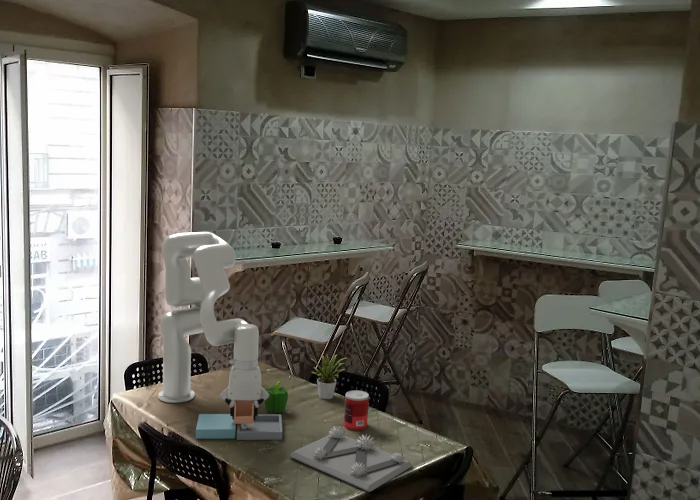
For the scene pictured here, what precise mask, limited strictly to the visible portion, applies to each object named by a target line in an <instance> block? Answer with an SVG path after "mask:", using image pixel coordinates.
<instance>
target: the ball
mask: <svg viewBox="0 0 700 500" xmlns="http://www.w3.org/2000/svg"><path fill="white" fill-rule="evenodd" d="M253 426H254V422H253V424H244V427H245V428H246V429H251V428H252V427H253Z"/></svg>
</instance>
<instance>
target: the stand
mask: <svg viewBox="0 0 700 500" xmlns="http://www.w3.org/2000/svg"><path fill="white" fill-rule="evenodd" d="M195 427H196V428H195V439H197V440H198V439H200V440H201V439H202V440H203V439H206V440H207V439H211V440H212V439H216V440H217V439H236V436H237V424H234V420H232V416H230V413H199V414H198V418H197V423H196V426H195Z"/></svg>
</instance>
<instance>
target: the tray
mask: <svg viewBox="0 0 700 500" xmlns="http://www.w3.org/2000/svg"><path fill="white" fill-rule="evenodd" d="M253 422H254V426H253V427H252V428H251V429H246V428H245V427H244V424H237V425H236V440H237V441H238V440H239V441H241V440H244V441H247V440H249V441H250V440H251V441H252V440H256V441H257V440H258V441H260V440H263V441H264V440H265V441H266V440H267V441H268V440H271V441H272V440H283V423H282V422H283V421H282V414H281V413H276V414H258V416H256V418H255V420H254V419H253Z"/></svg>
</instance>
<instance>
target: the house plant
mask: <svg viewBox="0 0 700 500" xmlns="http://www.w3.org/2000/svg"><path fill="white" fill-rule="evenodd" d="M325 354H326V355H325ZM325 354H322V353H321V354H320V355H321V363H322V364H321V365H322V366H320V364H318V362H317V361H316V360H315V359H313V358H310V357H309V359H310V360H312V361H313V362H314V363H315V364H316V365H317V366H318V368H319V369H317V368H316V367H315V366H314V367H313V368H314V369H315V371H311V373H312V374H314V375H316V376H317V377H318V378H317V380H316V383H317V392H318V397H319V398H320V399H323V400H332V399H333V398H334V395H335V389H336V385H337V379H338V378H339V373H340V372H341V373H343V370H346V368H343V369H338V368H339V367H340V366H341V365H344V364H345V362H342V361H343V360H346V359H347V357H343V358H340V359H339V360H338V361H336V358H337V355H338V354H337V353H336V354H334V356H333V358H332V360H331V361H330V357H329V355H328V354H327V353H326V352H325ZM325 356H326V357H325ZM335 362H336V363H335ZM341 362H342V363H341ZM337 365H338V366H337ZM334 369H335V370H334ZM336 378H337V379H336Z"/></svg>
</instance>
